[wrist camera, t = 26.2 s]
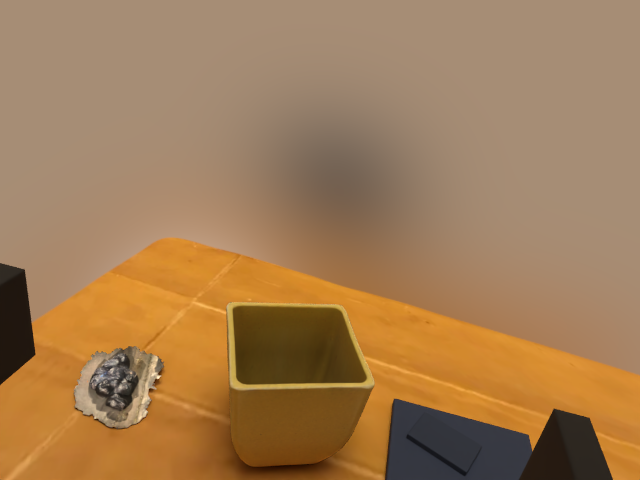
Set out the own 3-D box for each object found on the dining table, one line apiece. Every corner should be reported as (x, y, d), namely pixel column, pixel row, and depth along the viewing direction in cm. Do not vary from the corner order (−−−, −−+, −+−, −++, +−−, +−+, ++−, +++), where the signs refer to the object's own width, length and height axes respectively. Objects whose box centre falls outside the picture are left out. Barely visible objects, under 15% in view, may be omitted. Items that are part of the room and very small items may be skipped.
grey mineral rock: (159, 348, 43) (159, 330, 42) (178, 417, 37) (179, 398, 36) (71, 362, 40) (70, 343, 39) (76, 439, 33) (74, 419, 33)
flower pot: (217, 393, 39) (226, 299, 35) (324, 392, 41) (344, 302, 37) (218, 495, 32) (230, 388, 28) (349, 486, 34) (377, 386, 30)
